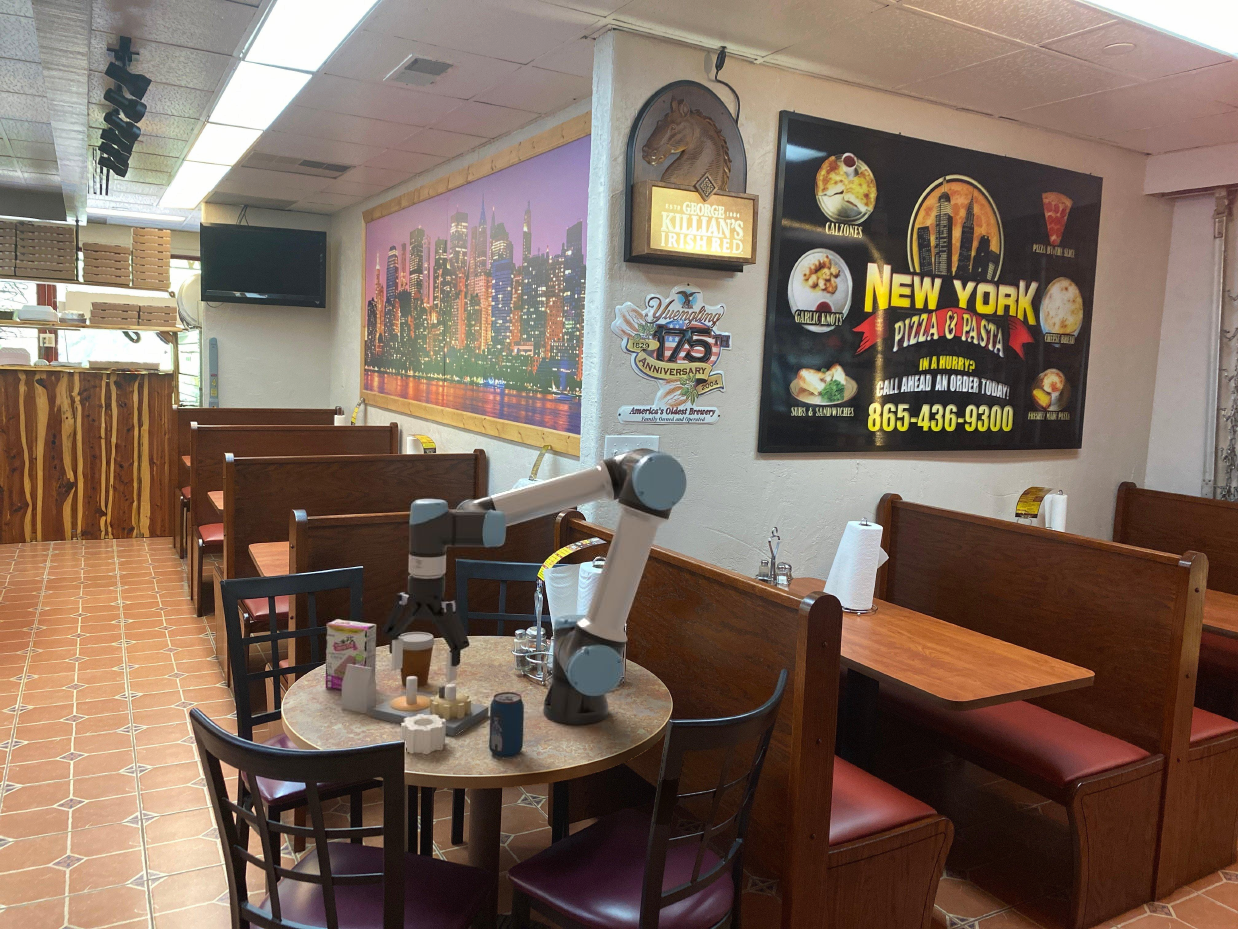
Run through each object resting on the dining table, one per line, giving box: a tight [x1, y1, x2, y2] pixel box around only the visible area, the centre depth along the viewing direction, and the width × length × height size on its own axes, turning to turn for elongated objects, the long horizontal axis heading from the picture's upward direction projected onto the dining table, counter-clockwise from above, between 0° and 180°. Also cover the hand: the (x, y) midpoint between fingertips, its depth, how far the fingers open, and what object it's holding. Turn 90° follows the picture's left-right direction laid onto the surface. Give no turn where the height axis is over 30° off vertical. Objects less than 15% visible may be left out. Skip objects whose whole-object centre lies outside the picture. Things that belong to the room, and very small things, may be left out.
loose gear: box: [400, 714, 446, 755], centre depth 185 cm, size 9×9×5 cm
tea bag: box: [341, 664, 377, 714], centre depth 203 cm, size 4×7×10 cm, turn 70°
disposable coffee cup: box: [398, 631, 436, 688], centre depth 221 cm, size 10×10×12 cm
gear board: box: [370, 676, 490, 737], centre depth 200 cm, size 22×14×8 cm, turn 67°
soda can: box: [488, 691, 525, 760], centre depth 182 cm, size 7×7×12 cm
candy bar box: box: [325, 618, 377, 692], centre depth 215 cm, size 11×5×16 cm, turn 76°
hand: (423, 675), depth 183 cm, fingers open, 13 cm apart
